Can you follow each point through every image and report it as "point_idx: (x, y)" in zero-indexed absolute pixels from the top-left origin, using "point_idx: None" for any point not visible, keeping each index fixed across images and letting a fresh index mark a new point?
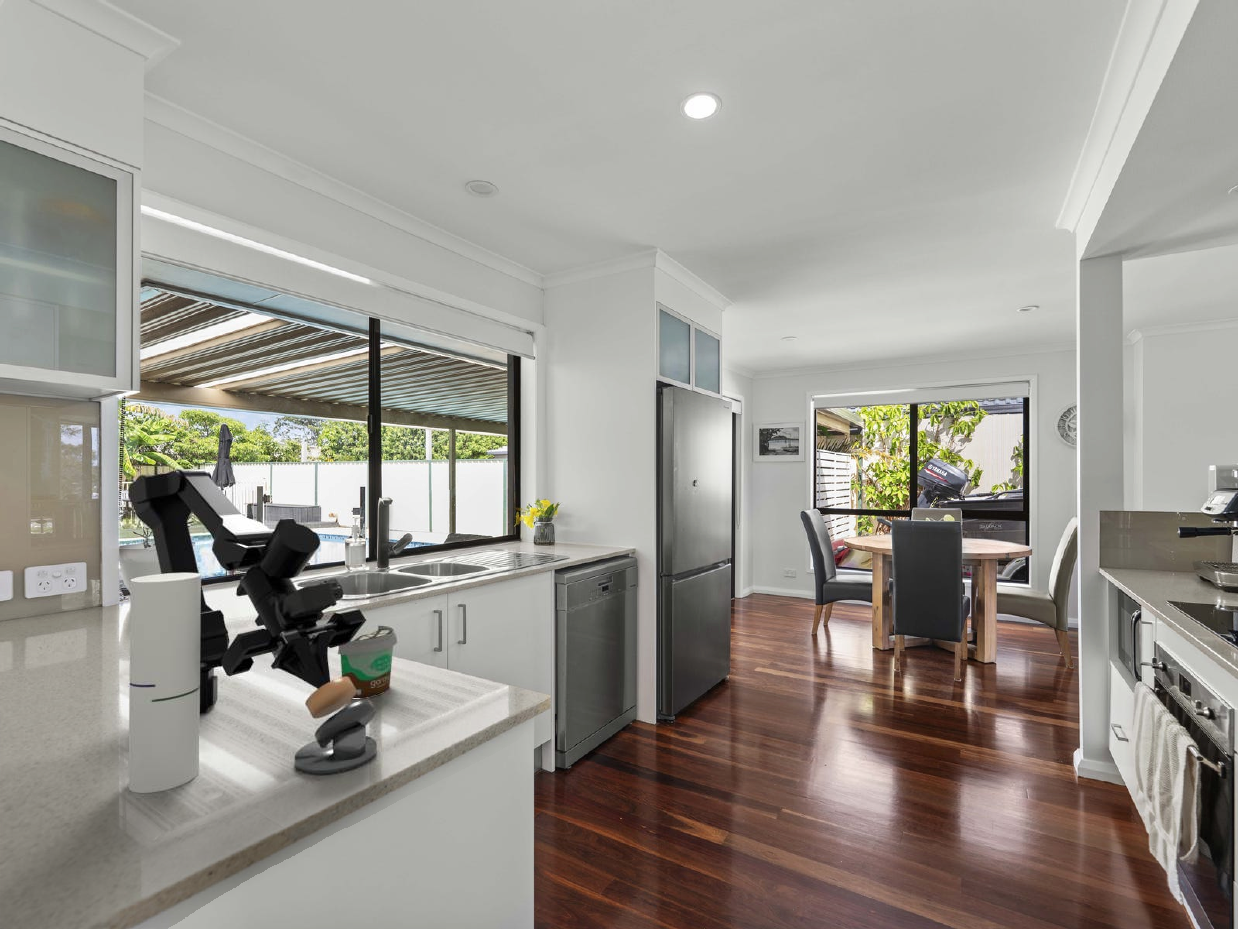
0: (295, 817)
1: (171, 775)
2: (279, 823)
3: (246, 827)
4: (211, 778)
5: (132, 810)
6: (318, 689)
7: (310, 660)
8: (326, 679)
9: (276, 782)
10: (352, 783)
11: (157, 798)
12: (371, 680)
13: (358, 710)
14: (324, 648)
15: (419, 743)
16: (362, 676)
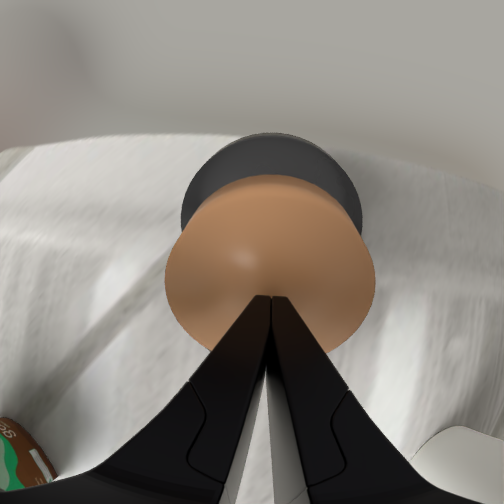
0: (427, 175)
1: (472, 430)
2: (444, 183)
3: (468, 215)
4: (424, 416)
5: (500, 395)
6: (367, 250)
7: (341, 430)
8: (267, 313)
9: (394, 298)
10: None
11: (479, 408)
12: (6, 437)
13: (288, 135)
14: (136, 476)
15: (147, 180)
16: (10, 454)
